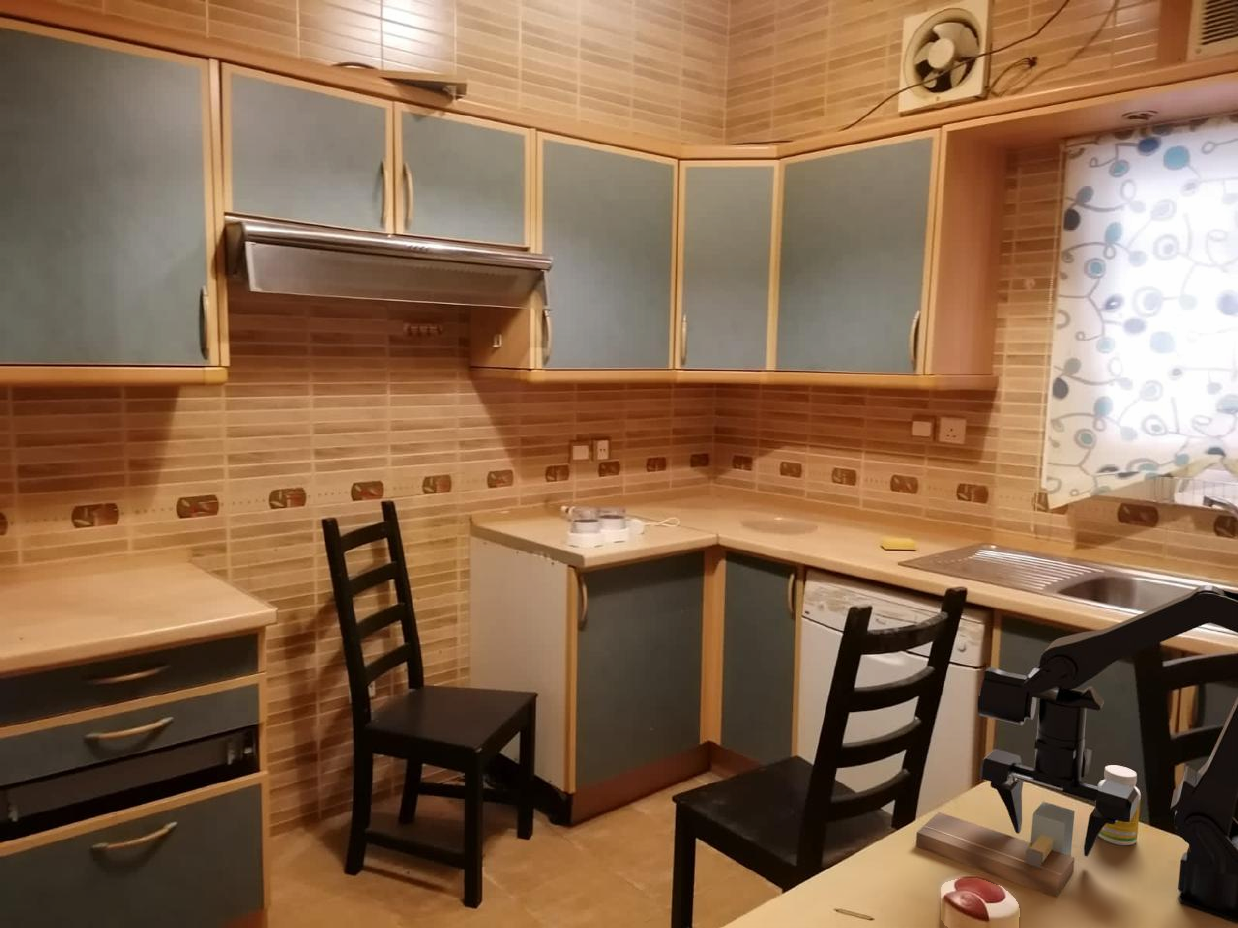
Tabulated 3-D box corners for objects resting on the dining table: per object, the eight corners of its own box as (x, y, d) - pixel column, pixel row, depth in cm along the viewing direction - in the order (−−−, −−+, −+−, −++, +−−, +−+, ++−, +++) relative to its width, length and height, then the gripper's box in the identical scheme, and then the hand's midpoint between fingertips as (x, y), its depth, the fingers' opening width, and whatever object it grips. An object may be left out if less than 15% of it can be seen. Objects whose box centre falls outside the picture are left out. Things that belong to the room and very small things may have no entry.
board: (1073, 871, 118) (1074, 856, 118) (1056, 897, 112) (1057, 881, 112) (937, 824, 130) (938, 811, 130) (915, 845, 124) (916, 831, 123)
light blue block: (1070, 853, 123) (1074, 810, 122) (1048, 885, 114) (1051, 840, 114) (1039, 842, 126) (1043, 801, 125) (1015, 873, 117) (1018, 829, 116)
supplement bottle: (1145, 846, 125) (1151, 779, 124) (1106, 845, 125) (1111, 778, 124) (1124, 827, 131) (1129, 763, 130) (1086, 826, 131) (1092, 761, 130)
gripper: (1151, 734, 121) (1141, 845, 123) (1007, 699, 133) (999, 800, 135) (1134, 760, 113) (1123, 878, 114) (981, 720, 125) (974, 827, 126)
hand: (1051, 843), depth 122 cm, fingers open, 8 cm apart
